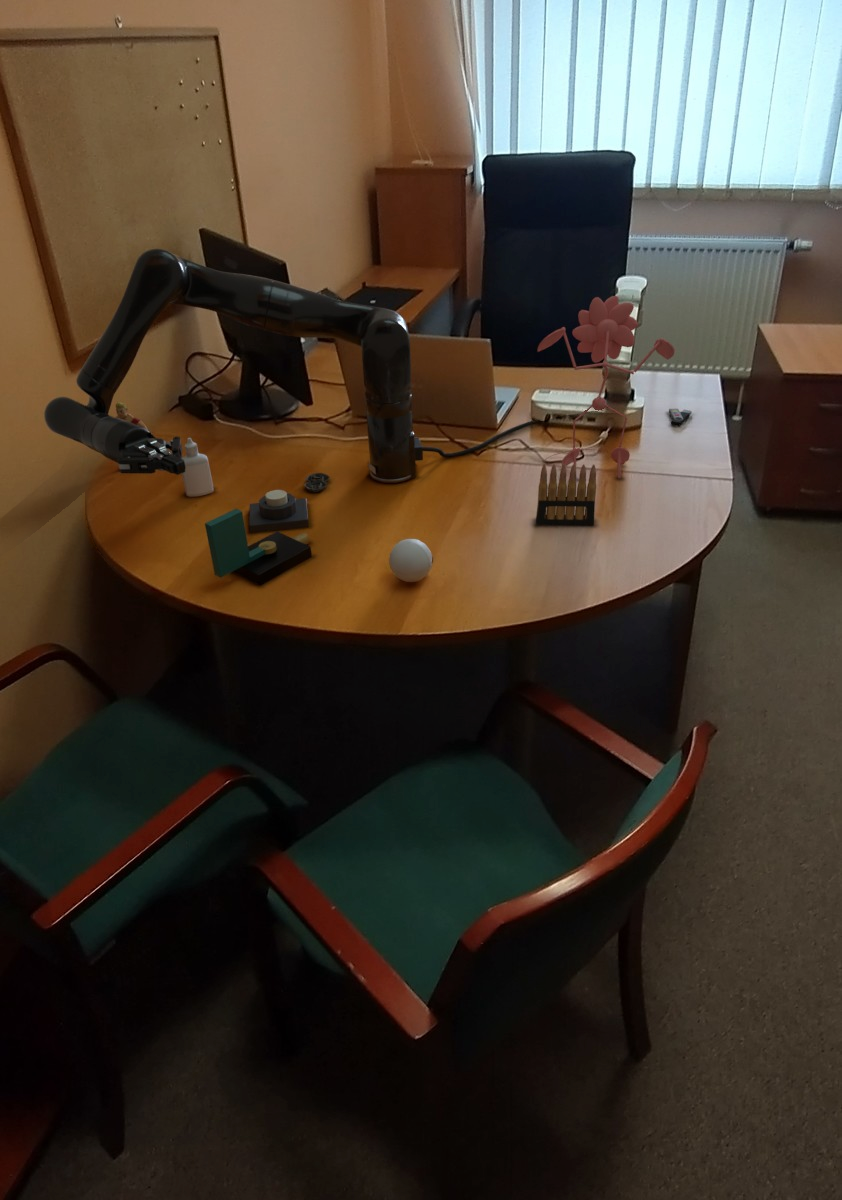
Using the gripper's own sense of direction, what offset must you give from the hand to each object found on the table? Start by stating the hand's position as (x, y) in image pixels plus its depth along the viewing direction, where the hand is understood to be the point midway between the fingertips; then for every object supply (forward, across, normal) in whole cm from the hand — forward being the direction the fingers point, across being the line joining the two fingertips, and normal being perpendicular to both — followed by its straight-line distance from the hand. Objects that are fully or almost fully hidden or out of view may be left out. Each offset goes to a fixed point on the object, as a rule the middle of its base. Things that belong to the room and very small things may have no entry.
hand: (181, 468), depth 140 cm
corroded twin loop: (-6, +34, +18) cm, 39 cm away
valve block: (+10, +9, +18) cm, 23 cm away
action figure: (-44, +16, +19) cm, 51 cm away
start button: (-1, +19, +15) cm, 24 cm away
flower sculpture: (+34, +76, +18) cm, 86 cm away
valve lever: (+10, +3, +16) cm, 19 cm away
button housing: (-1, +20, +18) cm, 27 cm away
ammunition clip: (+43, +52, +18) cm, 70 cm away
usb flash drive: (+36, +110, +18) cm, 117 cm away
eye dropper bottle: (-23, +17, +18) cm, 34 cm away
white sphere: (+32, +20, +18) cm, 42 cm away
